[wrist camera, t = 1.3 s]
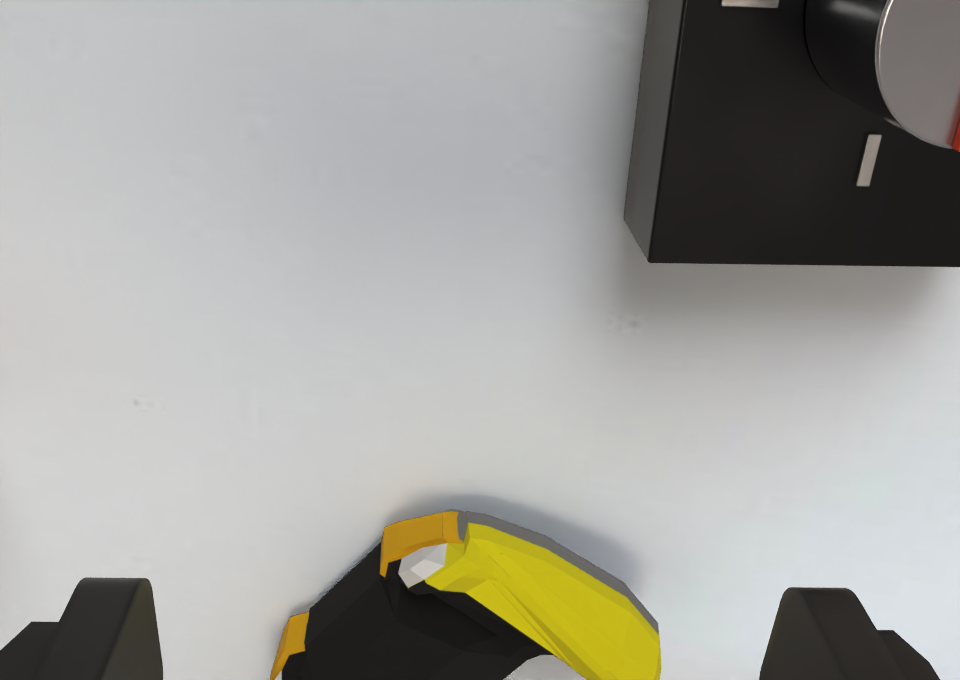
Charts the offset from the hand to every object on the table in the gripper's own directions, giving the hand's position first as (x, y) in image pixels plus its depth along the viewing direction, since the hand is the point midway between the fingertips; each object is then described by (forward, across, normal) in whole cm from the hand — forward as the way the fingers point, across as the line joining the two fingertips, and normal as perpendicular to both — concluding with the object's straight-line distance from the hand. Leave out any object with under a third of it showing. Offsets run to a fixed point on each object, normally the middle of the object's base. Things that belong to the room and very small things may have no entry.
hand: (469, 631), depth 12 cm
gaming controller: (+18, 0, +18) cm, 25 cm away
